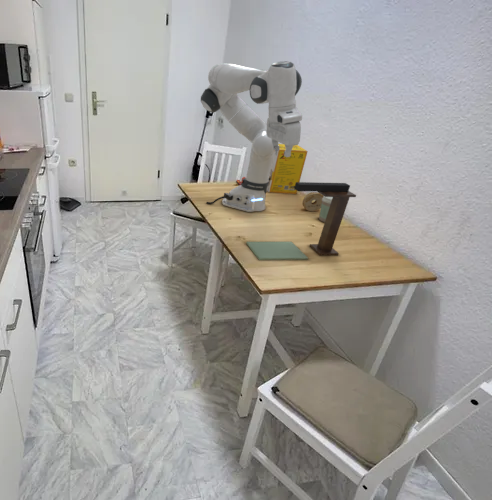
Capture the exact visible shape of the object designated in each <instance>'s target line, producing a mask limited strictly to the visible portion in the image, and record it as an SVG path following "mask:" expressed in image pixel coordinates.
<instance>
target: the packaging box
mask: <svg viewBox="0 0 492 500" xmlns="http://www.w3.org/2000/svg"><path fill="white" fill-rule="evenodd" d="M278 144H279V151H275V154H274V158H273V163H272V167H271V171H270V176H269V180H268V182H269V185H268V190H267V193H273V194H274V193H275V194H290V195H291V194H293V195H297V193H298V191H297V190H296V189H294V188H295V184H296V182H301V177H302V175H303V171H304V167H305V164H306V163H305V162H306V159H307V155H308V150H306V149H305V148H303V147H302V146H300V145H299V144H298V145H295V146H293V148H292V150H291V156H290V157H285V156H284V151H285V149H286V148H285V145H284V144H282V143H278Z"/></svg>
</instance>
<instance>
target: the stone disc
mask: <svg viewBox="0 0 492 500" xmlns="http://www.w3.org/2000/svg"><path fill="white" fill-rule="evenodd" d="M323 197H324V196H323V195H322V194H320V193H319V192H317V191H309V192H308V193H307V194H306V195H305V196H304V198H303V199H302V207H303V208H304V209H305V210H306V211H309V212H317V211H319V210H321V205H322V198H323Z"/></svg>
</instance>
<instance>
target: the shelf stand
mask: <svg viewBox="0 0 492 500" xmlns="http://www.w3.org/2000/svg"><path fill="white" fill-rule="evenodd" d="M316 192H318V193H320V194H322V195H323V196H325V197H333V198H332V201H331V204H330V208H329V211H328V214H327V217H326V220H325V222H323V223H324V224H323V227H322V230H321V232H320V236H319V239H318V243H310V244H309V248H310V249H312V250H313V251H314V252H315V253H316V254H317V255H319V256H339V252H338V251H337V250H335V249H334V244H335V242H336V238H337V236H338V233H339V230H340V226H341V224H342V220H343V218H344V215H345V212H346V209H347V206H348V203H349V200H350V199H351V198H356V197H357V194H355V193H354V192H351V191H350V190H349V191H348V192H319V191H316Z"/></svg>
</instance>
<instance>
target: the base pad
mask: <svg viewBox="0 0 492 500" xmlns="http://www.w3.org/2000/svg"><path fill="white" fill-rule="evenodd" d="M246 246H247V247H248V248H249V249H250V251H251V252H252V253H253V255H254V256H255V257H256V258H257V259H258V260H259V261H285V260H286V261H291V260H292V261H293V260H295V261H296V260H297V261H298V260H303V261H304V260H308V259H309V257H308V256H307V254H305V253H304V252H303V251H302V250H301V249H300V248H299V247H298V246H297V245H296V244H295V243H293V242H292V241H246Z"/></svg>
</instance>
